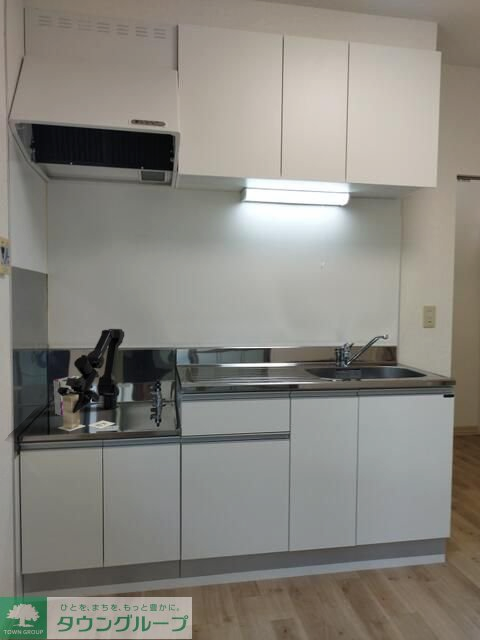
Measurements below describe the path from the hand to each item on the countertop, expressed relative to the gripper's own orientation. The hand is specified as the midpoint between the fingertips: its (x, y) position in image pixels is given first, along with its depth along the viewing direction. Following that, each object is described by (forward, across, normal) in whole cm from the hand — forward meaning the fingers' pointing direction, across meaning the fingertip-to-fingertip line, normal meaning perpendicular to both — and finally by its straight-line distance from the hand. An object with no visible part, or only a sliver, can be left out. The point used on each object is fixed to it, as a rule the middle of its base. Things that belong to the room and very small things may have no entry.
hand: (68, 412), depth 189 cm
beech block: (+4, 0, +6) cm, 7 cm away
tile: (+4, 0, +6) cm, 7 cm away
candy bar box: (-7, -17, +18) cm, 26 cm away
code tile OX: (-1, +10, +11) cm, 15 cm away
